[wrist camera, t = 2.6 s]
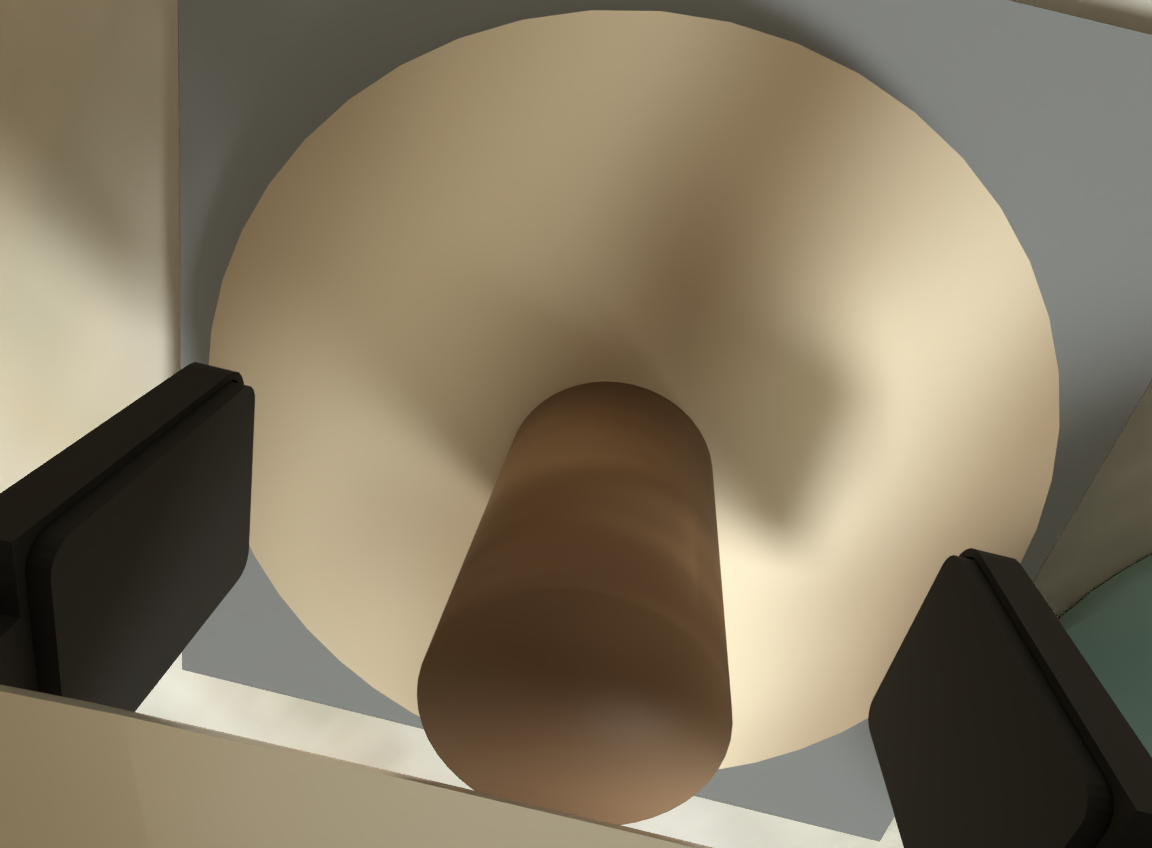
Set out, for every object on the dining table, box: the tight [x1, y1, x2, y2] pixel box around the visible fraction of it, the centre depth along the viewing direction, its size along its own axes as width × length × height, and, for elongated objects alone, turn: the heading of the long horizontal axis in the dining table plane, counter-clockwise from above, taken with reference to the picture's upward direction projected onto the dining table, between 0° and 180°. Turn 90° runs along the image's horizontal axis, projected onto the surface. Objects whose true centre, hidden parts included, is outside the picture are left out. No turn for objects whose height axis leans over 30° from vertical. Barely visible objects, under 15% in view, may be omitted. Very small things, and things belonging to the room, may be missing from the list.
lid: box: [209, 10, 1059, 825], centre depth 11 cm, size 13×13×6 cm
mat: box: [178, 0, 1152, 841], centre depth 14 cm, size 15×15×1 cm
